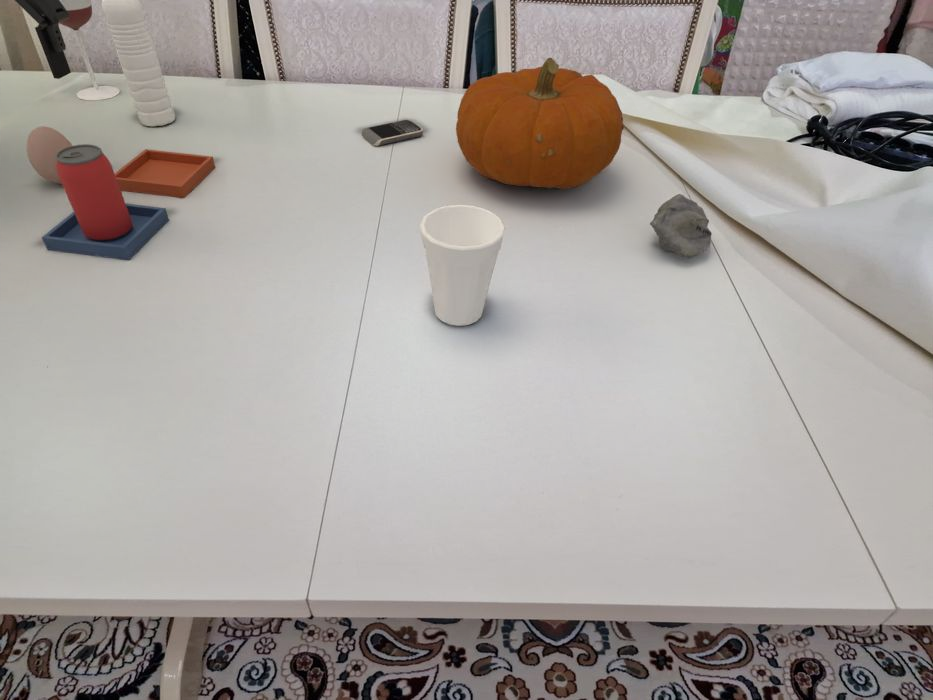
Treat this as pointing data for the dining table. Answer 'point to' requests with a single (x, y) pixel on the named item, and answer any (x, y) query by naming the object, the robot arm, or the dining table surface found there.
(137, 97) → the water bottle
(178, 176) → the terracotta tray
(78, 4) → the wineglass
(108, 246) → the blue tray
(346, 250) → the dining table surface
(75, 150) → the beer can
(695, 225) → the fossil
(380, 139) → the cell phone
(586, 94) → the pumpkin
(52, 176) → the egg
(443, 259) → the cup
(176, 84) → the dining table surface
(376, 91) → the dining table surface
